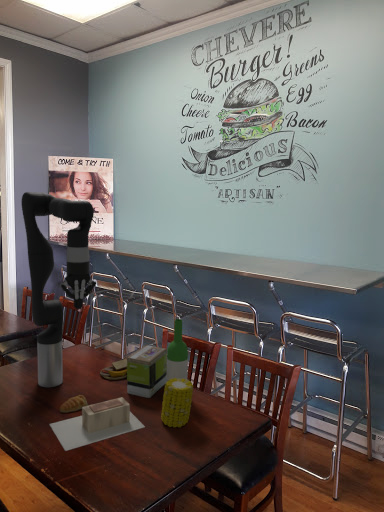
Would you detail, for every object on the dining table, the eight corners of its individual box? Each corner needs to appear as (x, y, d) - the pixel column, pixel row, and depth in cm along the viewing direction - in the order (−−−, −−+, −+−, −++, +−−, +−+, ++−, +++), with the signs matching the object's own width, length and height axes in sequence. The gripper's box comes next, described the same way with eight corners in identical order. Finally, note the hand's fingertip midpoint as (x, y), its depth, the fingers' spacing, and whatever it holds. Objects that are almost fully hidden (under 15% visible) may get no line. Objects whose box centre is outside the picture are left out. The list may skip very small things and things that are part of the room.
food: (166, 417, 151) (193, 424, 148) (152, 426, 140) (181, 434, 137) (172, 373, 152) (200, 379, 149) (160, 379, 141) (189, 385, 138)
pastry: (66, 417, 146) (66, 406, 146) (55, 410, 151) (55, 400, 150) (89, 407, 153) (89, 397, 153) (78, 401, 158) (78, 391, 157)
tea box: (145, 378, 178) (145, 344, 176) (167, 383, 174) (168, 348, 172) (126, 393, 164) (126, 356, 162) (149, 399, 161) (150, 361, 158)
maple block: (82, 406, 140) (122, 396, 148) (82, 424, 141) (122, 413, 148) (88, 414, 135) (129, 403, 143) (88, 433, 136) (129, 421, 143)
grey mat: (49, 425, 140) (49, 424, 140) (123, 406, 155) (123, 404, 155) (65, 452, 126) (65, 450, 126) (145, 428, 141) (145, 426, 141)
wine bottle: (172, 403, 157) (174, 324, 153) (162, 395, 164) (164, 318, 160) (190, 399, 162) (193, 321, 157) (179, 390, 168) (182, 315, 164)
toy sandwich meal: (98, 370, 185) (98, 359, 184) (129, 367, 190) (129, 356, 189) (102, 382, 174) (102, 371, 173) (135, 378, 178) (135, 367, 177)
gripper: (92, 257, 155) (92, 304, 157) (55, 259, 147) (55, 308, 150) (100, 260, 148) (100, 309, 151) (61, 262, 141) (62, 314, 144)
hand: (78, 308), depth 150 cm, fingers closed
